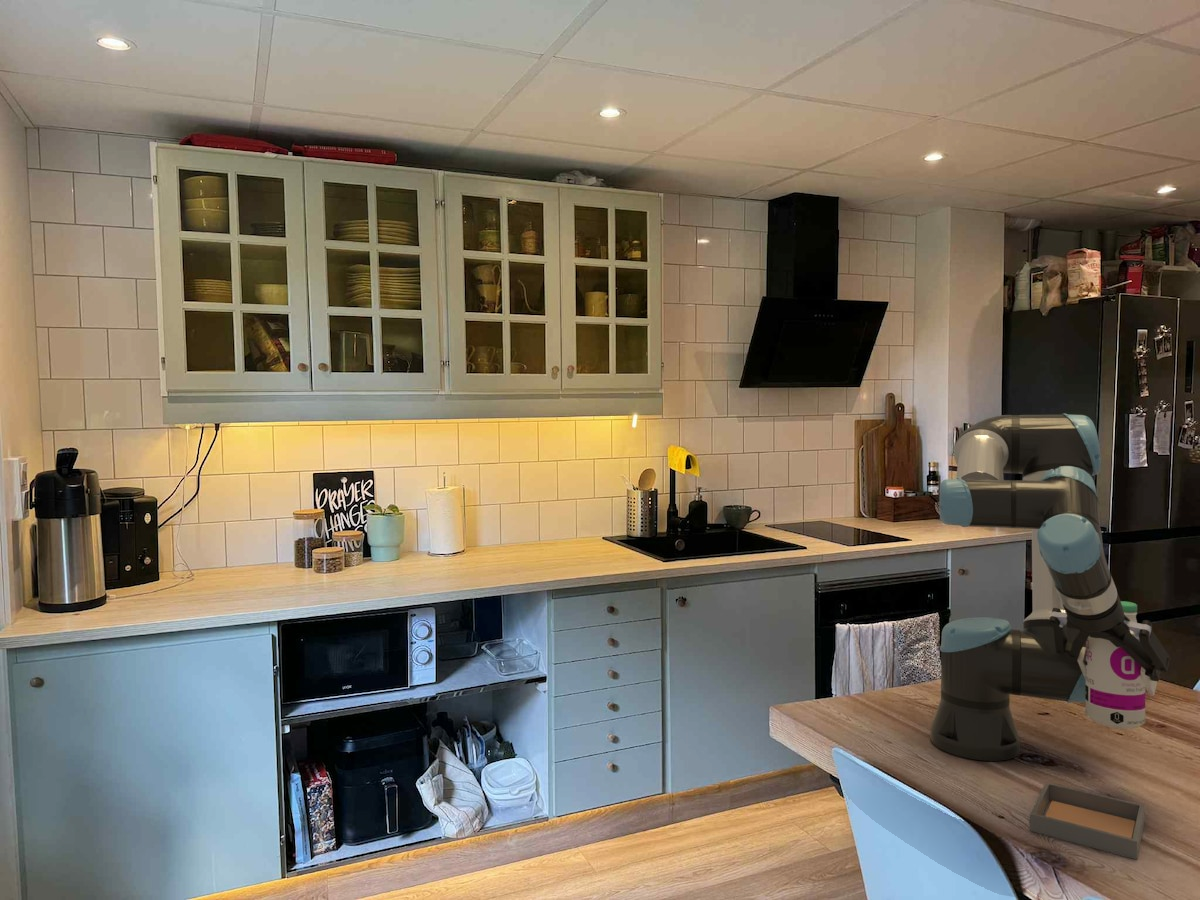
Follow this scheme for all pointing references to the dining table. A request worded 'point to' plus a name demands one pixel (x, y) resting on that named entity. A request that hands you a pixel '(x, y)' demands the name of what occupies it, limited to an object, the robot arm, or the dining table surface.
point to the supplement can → (1113, 686)
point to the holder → (1089, 819)
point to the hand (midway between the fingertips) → (1121, 681)
